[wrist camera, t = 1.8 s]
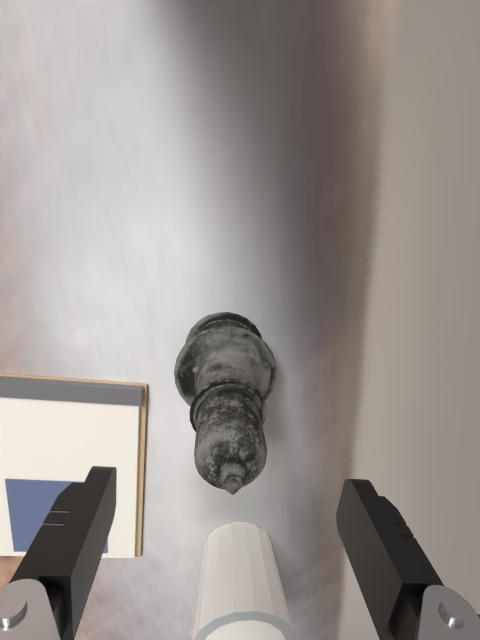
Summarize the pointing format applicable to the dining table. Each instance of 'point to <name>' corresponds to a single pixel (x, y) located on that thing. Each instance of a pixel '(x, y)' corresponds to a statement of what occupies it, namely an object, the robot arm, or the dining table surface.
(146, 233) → the dining table surface
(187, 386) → the dark grey chess bishop
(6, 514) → the order pad
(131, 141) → the dining table surface
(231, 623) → the shot glass
